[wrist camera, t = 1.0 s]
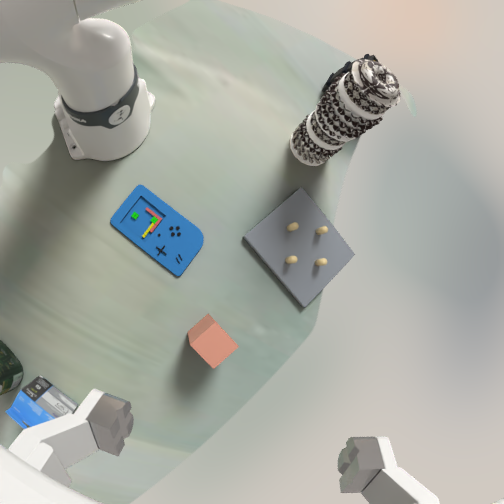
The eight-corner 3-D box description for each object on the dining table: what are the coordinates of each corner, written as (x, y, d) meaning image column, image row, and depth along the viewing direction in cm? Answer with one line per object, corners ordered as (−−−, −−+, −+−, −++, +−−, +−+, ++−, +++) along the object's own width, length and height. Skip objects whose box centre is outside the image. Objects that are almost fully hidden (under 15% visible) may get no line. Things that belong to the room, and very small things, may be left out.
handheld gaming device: (179, 277, 47) (108, 221, 45) (179, 277, 48) (109, 222, 46) (209, 236, 49) (139, 182, 47) (209, 237, 50) (140, 184, 48)
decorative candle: (285, 162, 54) (356, 89, 30) (288, 121, 55) (351, 41, 31) (329, 173, 56) (414, 115, 32) (330, 132, 57) (404, 66, 33)
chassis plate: (242, 236, 51) (247, 233, 47) (299, 188, 54) (307, 182, 50) (302, 306, 52) (310, 308, 48) (351, 255, 55) (362, 253, 52)
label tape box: (79, 404, 41) (56, 434, 29) (70, 418, 40) (48, 450, 28) (40, 373, 40) (10, 395, 28) (33, 388, 39) (3, 412, 27)
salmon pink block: (187, 331, 47) (189, 344, 37) (208, 313, 48) (215, 321, 38) (206, 352, 47) (213, 368, 38) (227, 333, 49) (238, 346, 39)
